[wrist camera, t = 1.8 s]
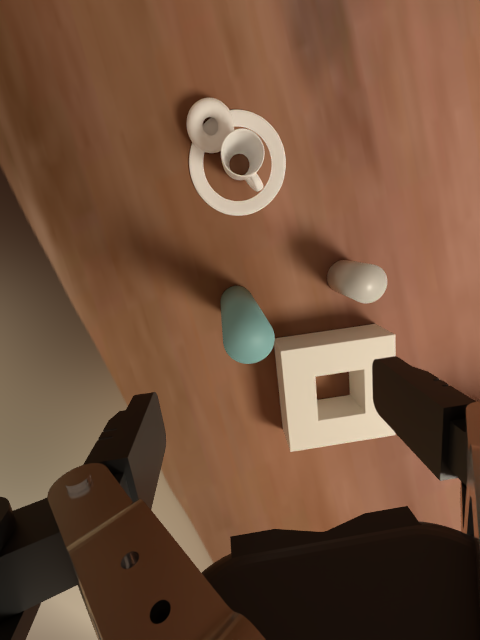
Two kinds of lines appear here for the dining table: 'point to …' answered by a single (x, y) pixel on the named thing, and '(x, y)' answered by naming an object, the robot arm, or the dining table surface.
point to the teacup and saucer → (233, 153)
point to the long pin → (244, 327)
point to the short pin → (357, 280)
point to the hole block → (324, 359)
